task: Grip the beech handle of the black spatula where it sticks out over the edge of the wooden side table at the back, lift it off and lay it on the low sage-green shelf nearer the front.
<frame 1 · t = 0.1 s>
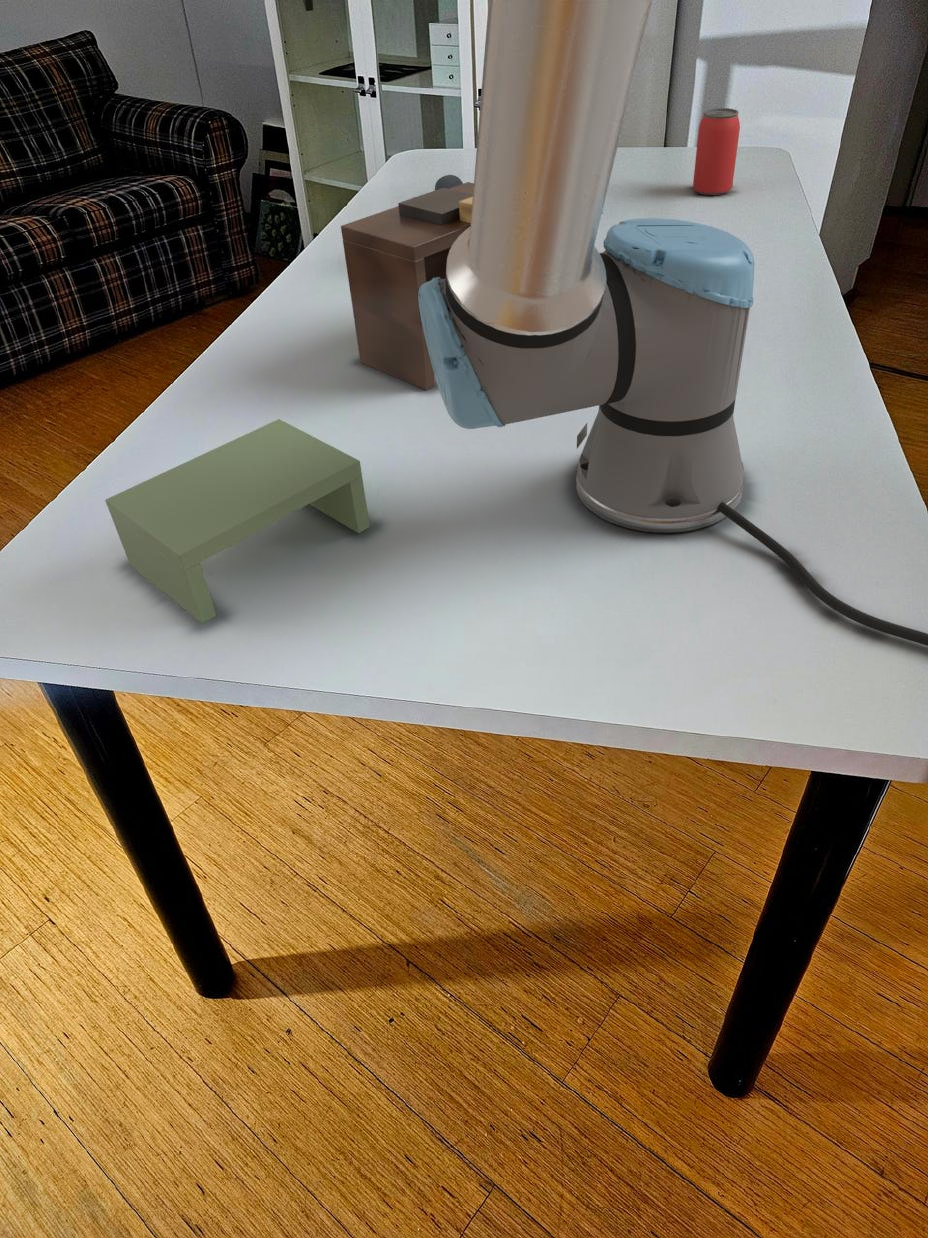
beer can: (711, 191, 152), on the table
low shelf: (252, 546, 80), on the table
paintbrush: (469, 213, 151), on the table
white ridged figurine: (560, 205, 152), on the table
wooden side table: (452, 347, 110), on the table
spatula: (455, 214, 98), point 16 cm above the table, touching wooden side table
wooden shelf: (464, 261, 134), on the table
dragon fruit: (556, 291, 122), on the table
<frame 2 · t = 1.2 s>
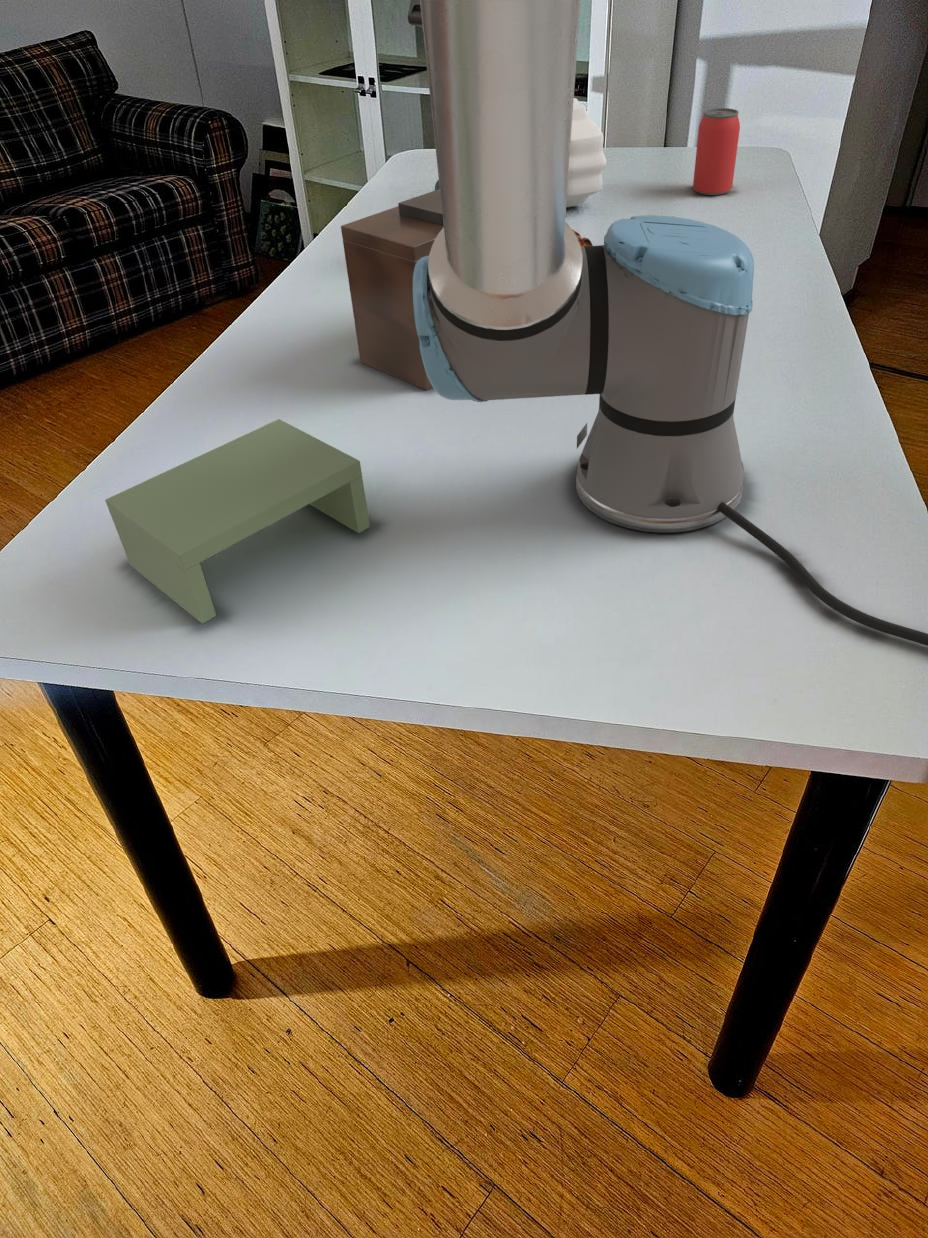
hand: (500, 99, 86), 28 cm above the table, tool pointing down, fingers open, 13 cm apart
nothing on the table moved.
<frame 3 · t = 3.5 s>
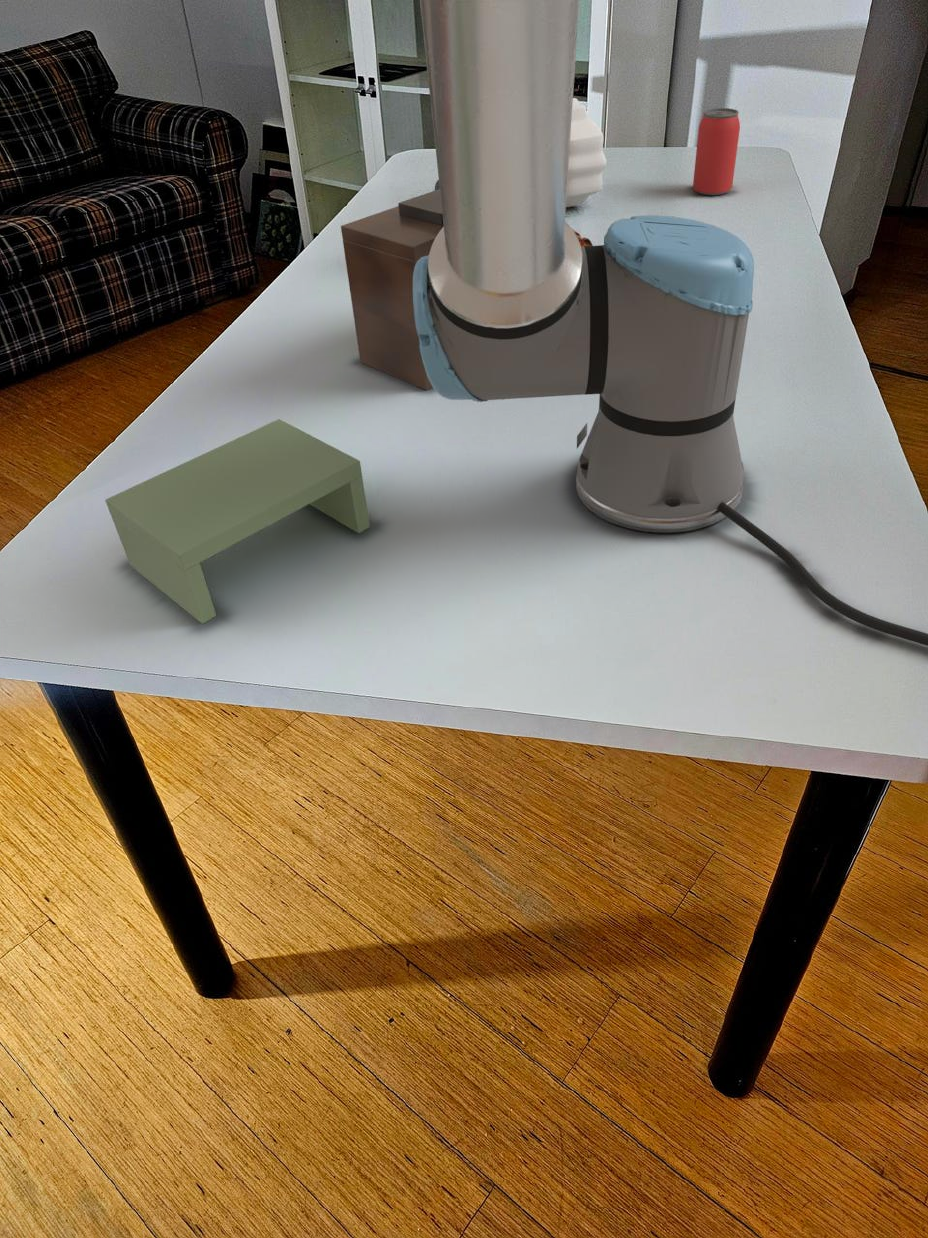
hand: (505, 264, 97), 12 cm above the table, tool pointing down, fingers closed on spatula, 3 cm apart
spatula: (455, 214, 98), point 16 cm above the table, touching gripper, wooden side table
everything else where it was.
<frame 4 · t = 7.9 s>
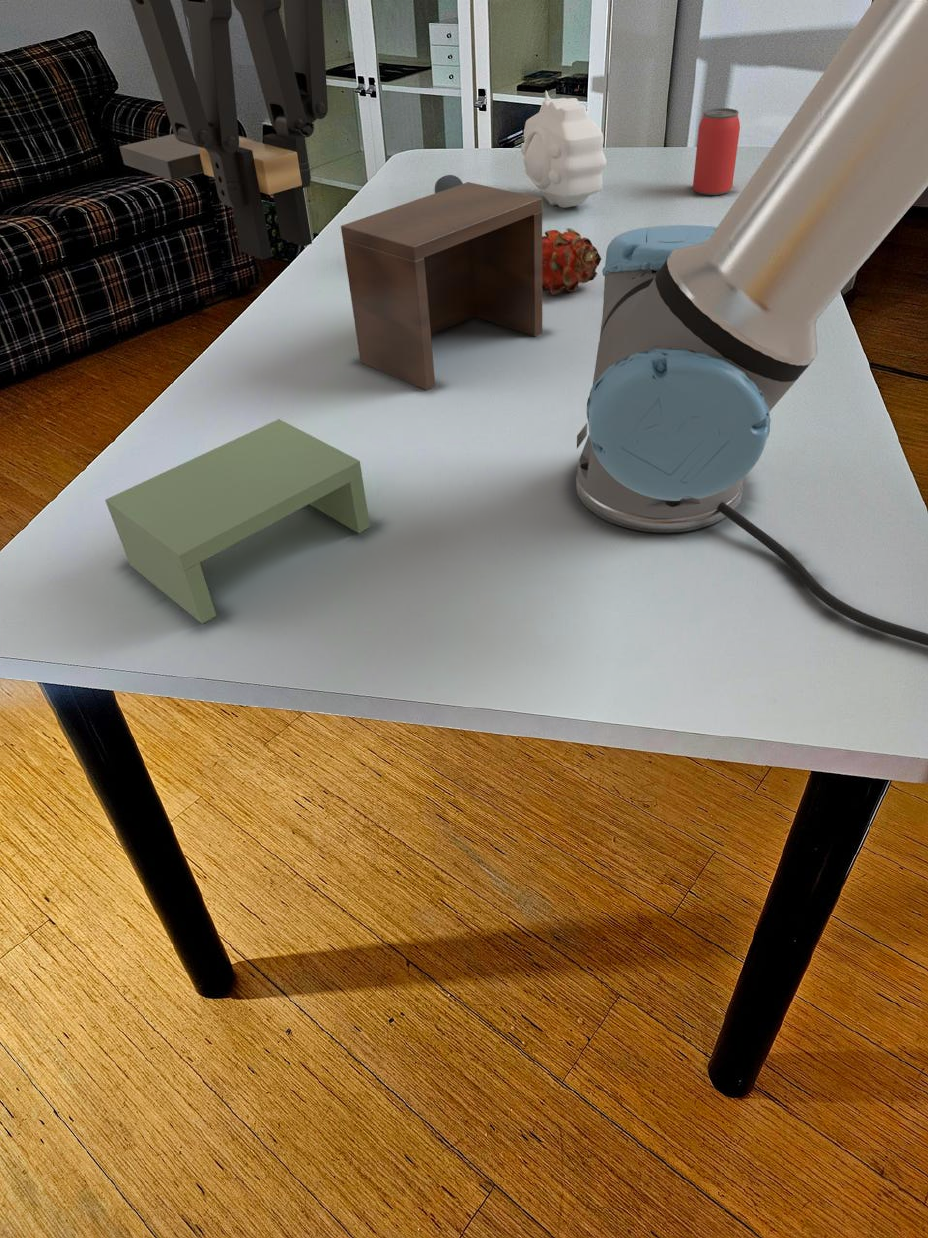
hand: (276, 246, 61), 27 cm above the table, tool pointing down, fingers closed on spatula, 3 cm apart
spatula: (205, 165, 63), point 31 cm above the table, touching gripper
everything else where it was.
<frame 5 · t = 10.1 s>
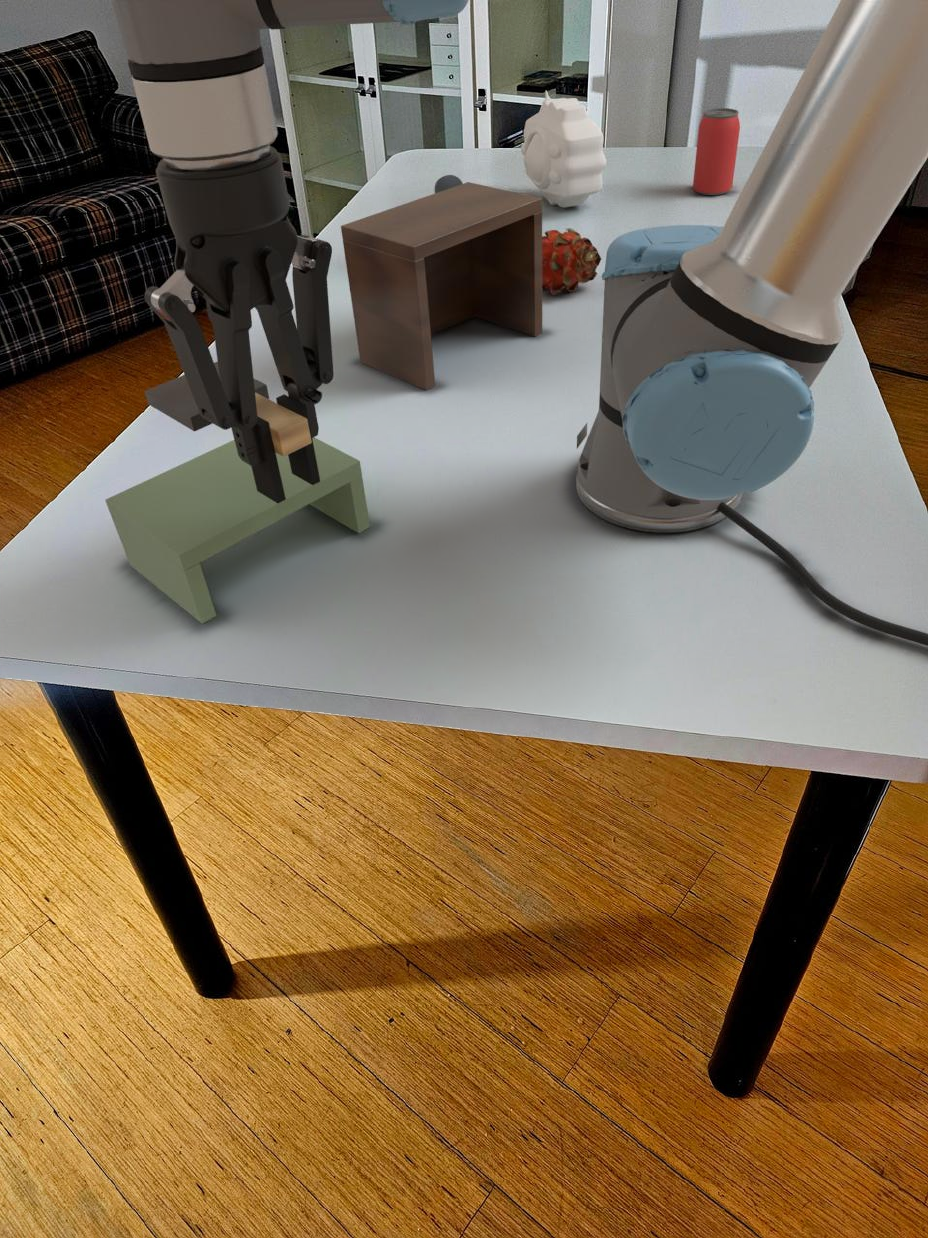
hand: (288, 485, 68), 10 cm above the table, tool pointing down, fingers closed on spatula, 3 cm apart
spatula: (222, 408, 70), point 14 cm above the table, touching gripper
everything else where it was.
when the fingers open (3 cm above the table, at t = 12.2 s): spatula stays where it is, resting on low shelf.
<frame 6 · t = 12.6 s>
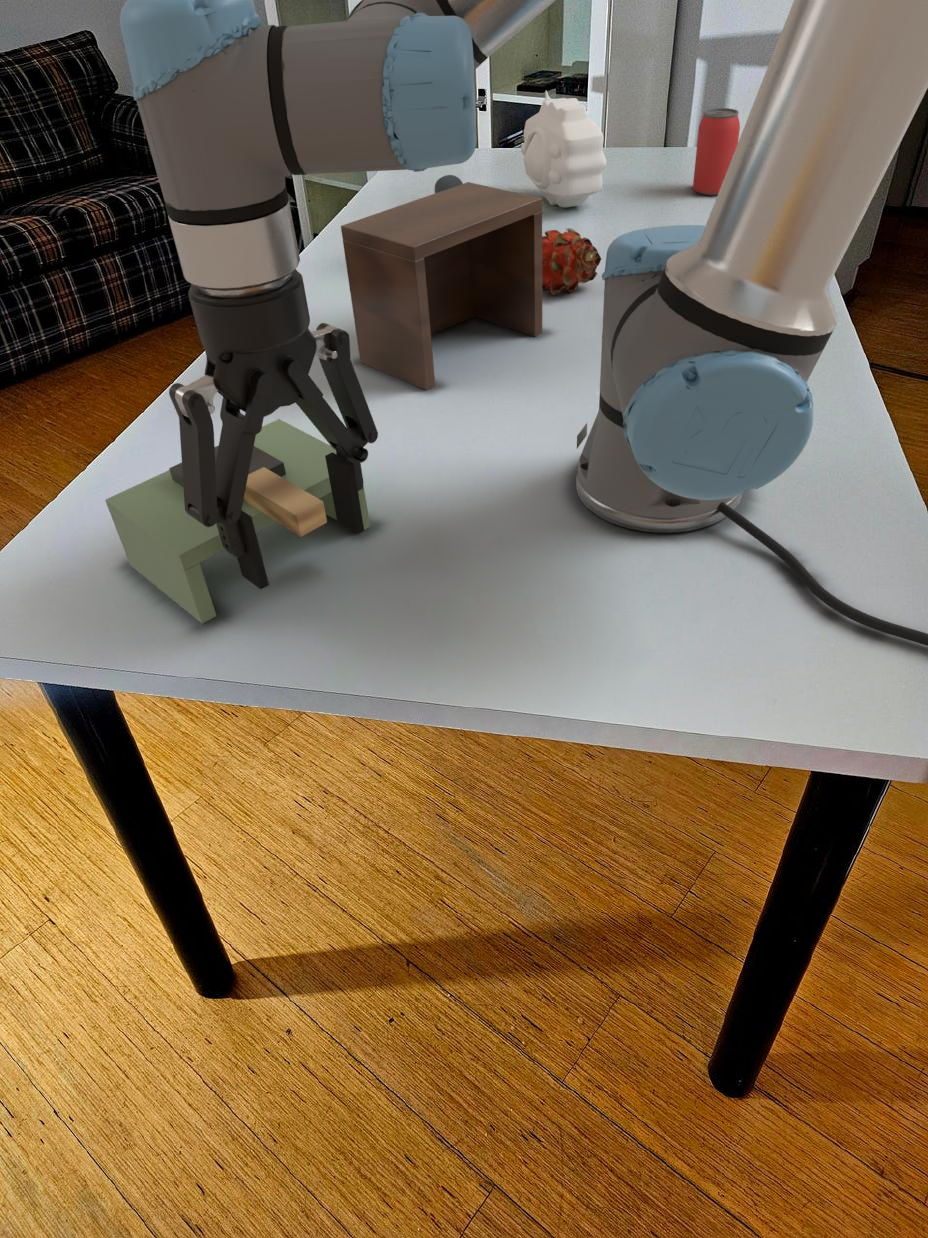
hand: (304, 552, 73), 4 cm above the table, tool pointing down, fingers open, 9 cm apart
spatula: (242, 485, 75), point 7 cm above the table, touching low shelf
everything else where it was.
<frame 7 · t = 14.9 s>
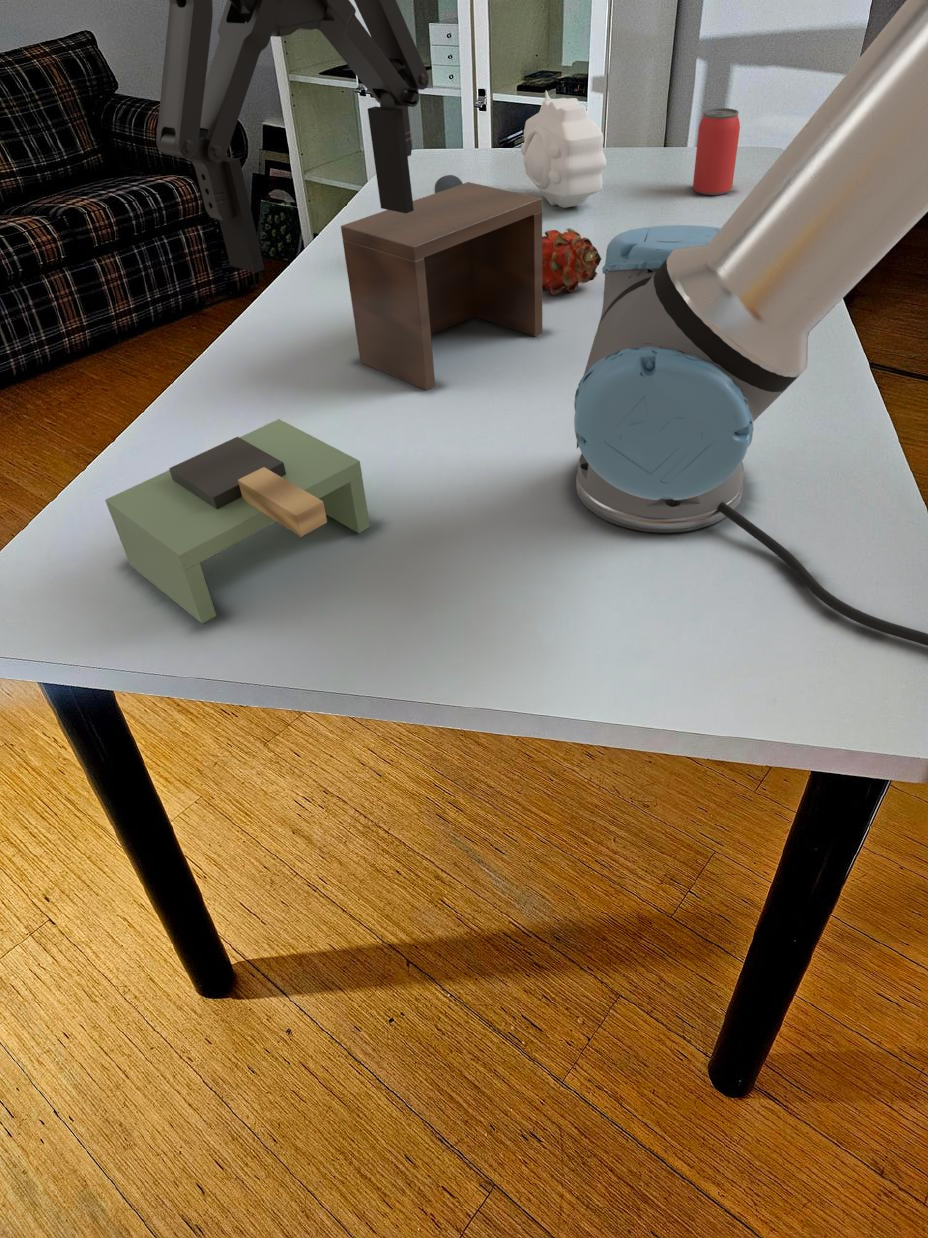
hand: (326, 237, 61), 27 cm above the table, tool pointing down, fingers open, 13 cm apart
nothing on the table moved.
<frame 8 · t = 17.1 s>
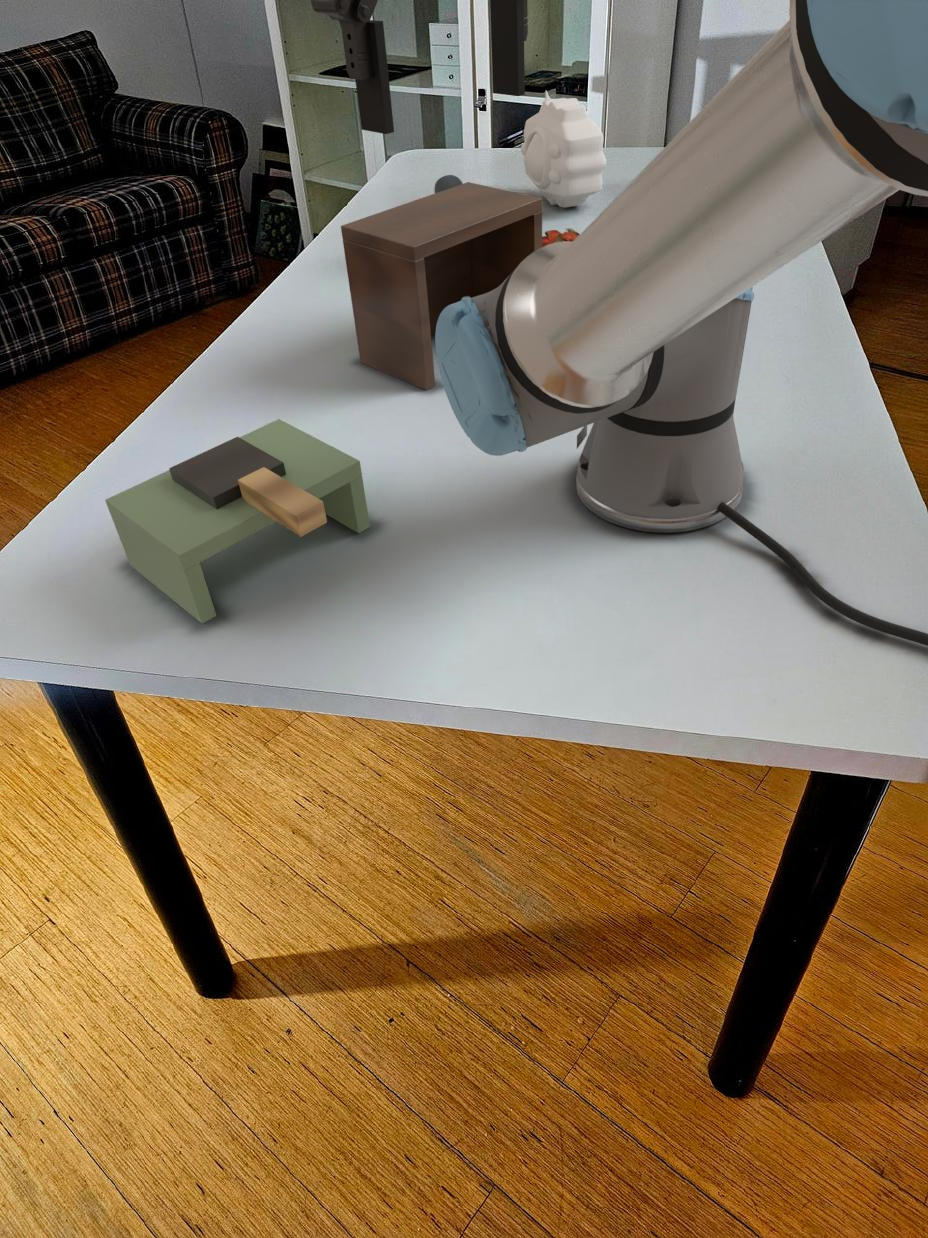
hand: (446, 111, 66), 32 cm above the table, tool pointing down, fingers open, 13 cm apart
nothing on the table moved.
at the end: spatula inside the target area on the low shelf (0.3 cm from its centre), point 7.0 cm above the low shelf's base; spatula tilted 0°; the gripper is holding nothing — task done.
